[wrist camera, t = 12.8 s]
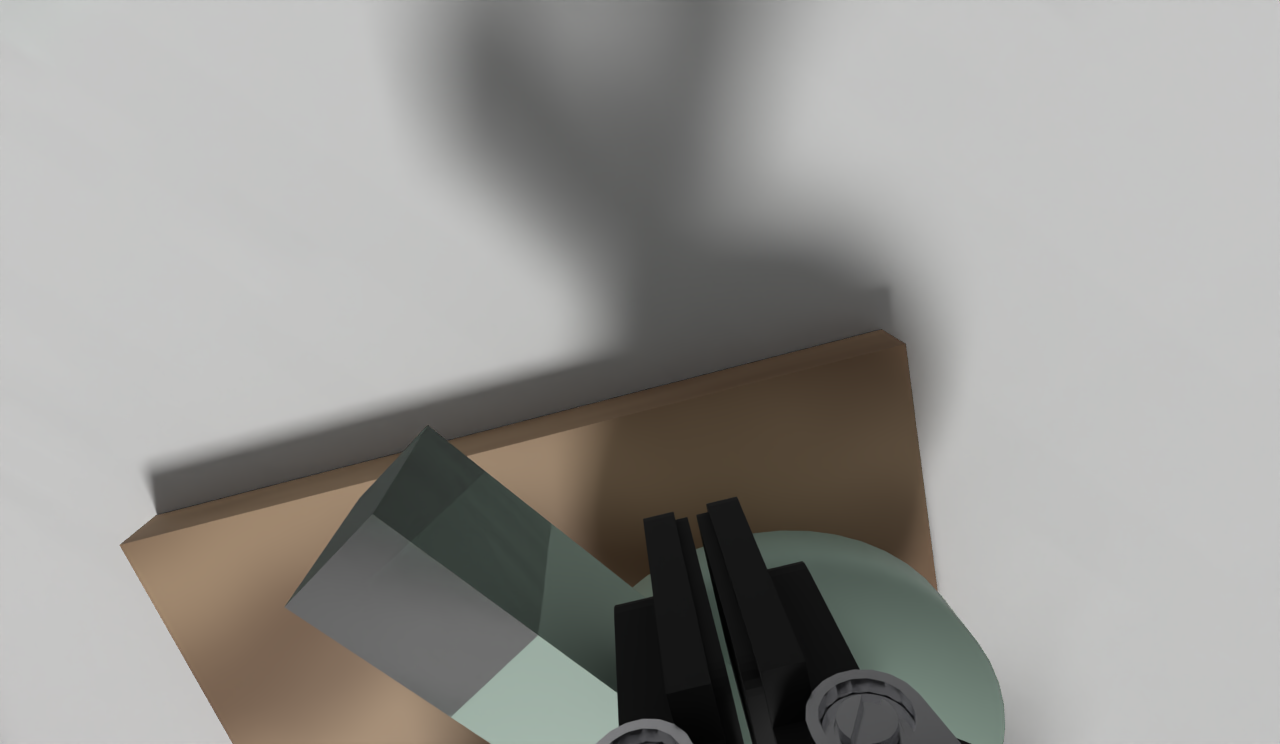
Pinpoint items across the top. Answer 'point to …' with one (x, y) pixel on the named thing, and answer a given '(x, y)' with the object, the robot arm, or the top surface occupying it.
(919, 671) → the green door lever handle
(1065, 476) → the top surface
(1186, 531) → the top surface
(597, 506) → the walnut board
